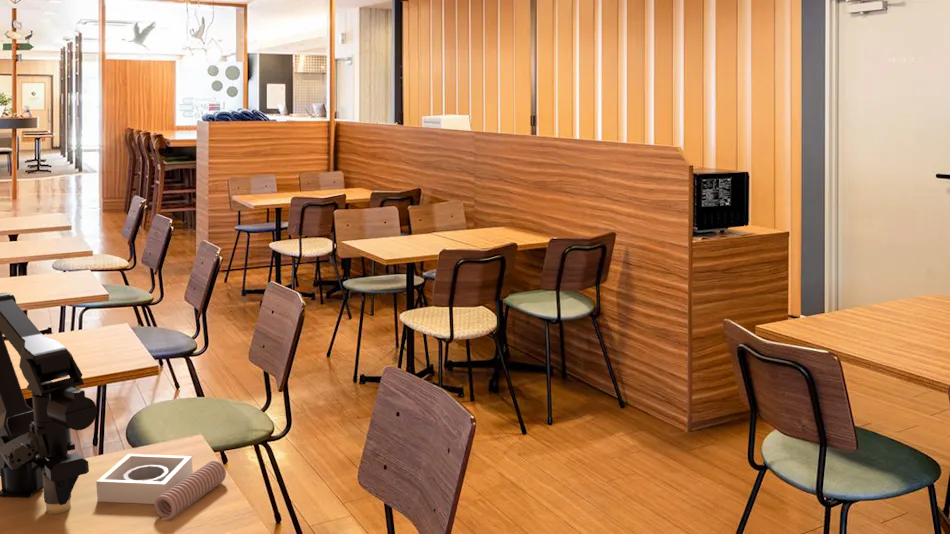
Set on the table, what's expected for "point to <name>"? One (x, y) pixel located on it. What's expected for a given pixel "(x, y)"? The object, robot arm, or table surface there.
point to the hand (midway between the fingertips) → (57, 498)
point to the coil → (189, 490)
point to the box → (142, 478)
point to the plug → (53, 497)
